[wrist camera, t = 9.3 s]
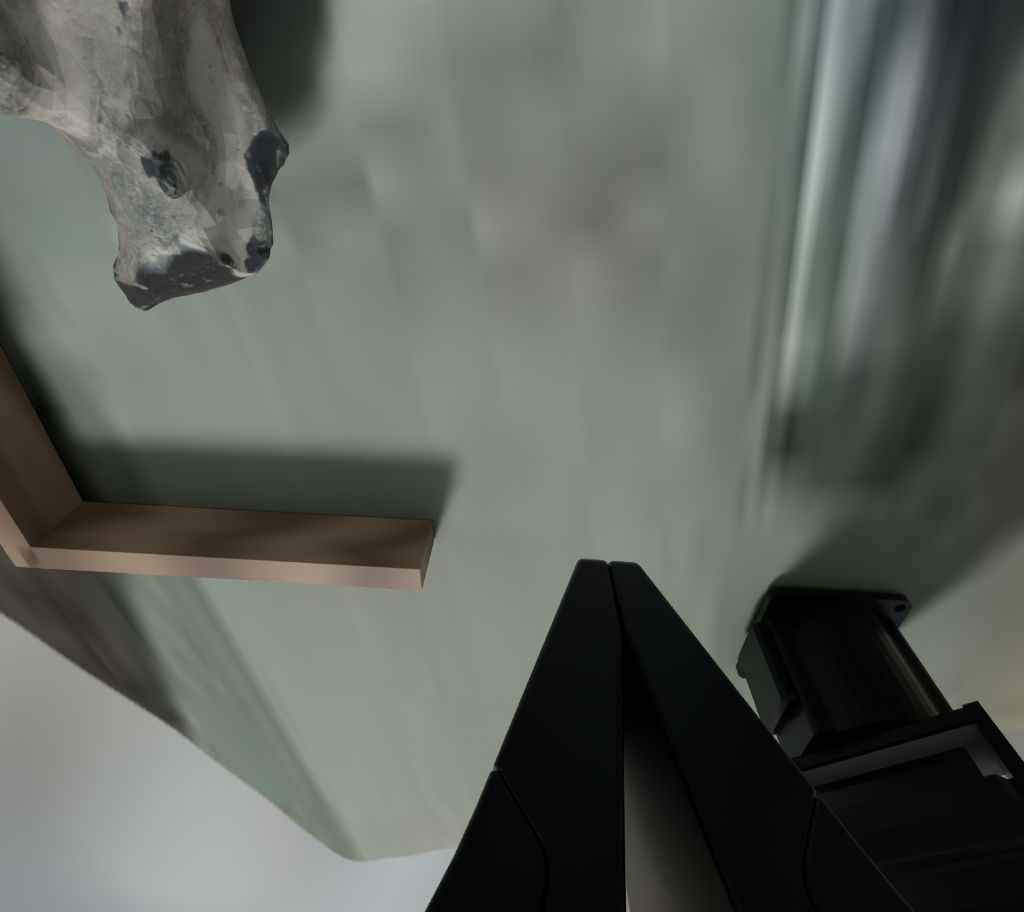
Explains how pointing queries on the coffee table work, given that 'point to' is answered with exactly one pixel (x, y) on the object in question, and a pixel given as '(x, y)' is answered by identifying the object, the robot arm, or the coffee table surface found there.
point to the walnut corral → (183, 526)
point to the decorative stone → (154, 130)
